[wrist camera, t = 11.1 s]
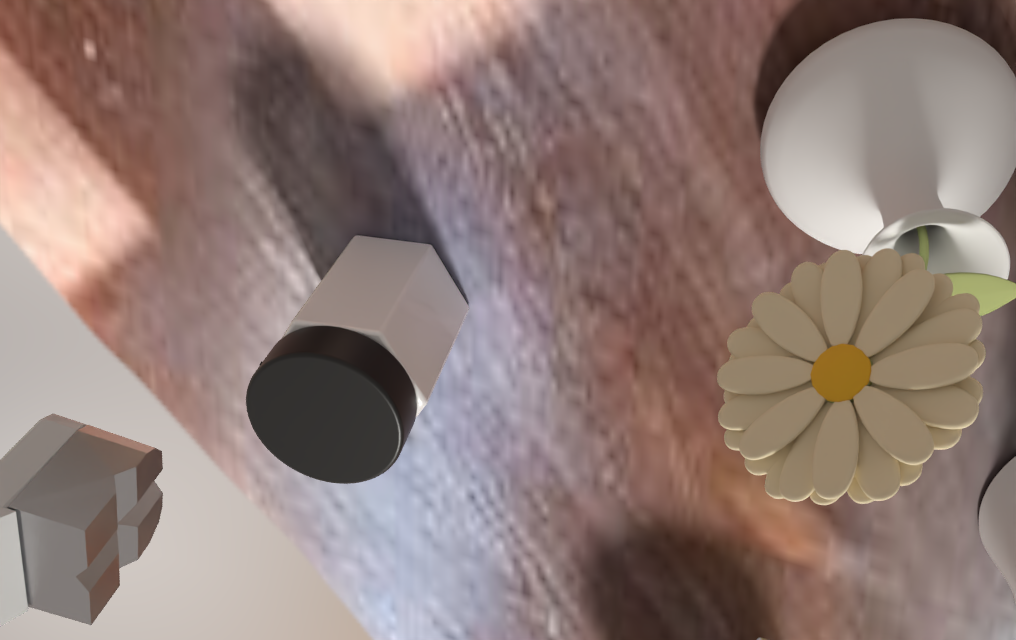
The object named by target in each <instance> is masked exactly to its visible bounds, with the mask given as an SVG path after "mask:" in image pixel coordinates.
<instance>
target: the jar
mask: <svg viewBox="0 0 1016 640" xmlns="http://www.w3.org/2000/svg"><path fill="white" fill-rule="evenodd" d="M468 311H469V306H468V304H467V302H466V301H465V299H464V298H463V296H462V294H461V293H460V291H459V289H458V288H457V286H456V284H455V283H454V281H453V279H452V278H451V276H450V274H449V273H448V271H447V269H446V268H445V266H444V264H443V263H442V261H441V259H440V258H439V256H438V255H437V253H436V251H435V250H434V248H433V246H432V245H430V244H424V243H416V242H408V241H400V240H392V239H384V238H376V237H368V236H360V235H356V236H354V237H353V238H352V240H351V241H350V242H349V244H348V245H347V246H346V248H345V249H344V250H343V252H342V253H341V255H340V256H339V257H338V259H337V260H336V261H335V263H334V264H333V266H332V267H331V268H330V270H329V271H328V272H327V274H326V275H325V277H324V278H323V279H322V281H321V282H320V283H319V285H318V286H317V287H316V289H315V290H314V292H313V293H312V294H311V296H310V297H309V298H308V300H307V301H306V303H305V304H304V305H303V307H302V308H301V309H300V311H299V312H298V314H297V315H296V316H295V318H294V319H293V320H292V322H291V324H290V325H289V327H288V329H287V330H286V332H285V334H284V336H283V337H282V339H281V340H280V341H278V343H277V344H276V345H275V346H274V347H273V349H272V350H271V351H270V353H269V354H268V355H267V357H266V358H265V360H264V361H263V362H261V363H260V366H259V368H258V369H257V371H256V372H255V373H254V375H253V376H252V378H251V380H250V383H249V386H248V389H247V395H246V406H247V412H248V416H249V419H250V422H251V425H252V427H253V429H254V431H255V433H256V434H257V436H258V437H259V439H260V440H261V442H262V443H263V444H264V445H265V447H266V448H267V449H268V450H269V451H270V452H271V453H272V454H273V455H274V456H276V457H277V458H278V459H279V460H280V461H282V462H283V463H284V464H286V465H287V466H289V467H291V468H292V469H294V470H296V471H298V472H300V473H302V474H304V475H306V476H309V477H312V478H315V479H318V480H322V481H326V482H331V483H344V484H348V483H358V482H363V481H367V480H370V479H373V478H375V477H377V476H379V475H381V474H383V473H384V472H385V471H387V470H388V469H389V468H390V467H391V466H392V465H393V464H394V463H395V461H396V460H397V458H398V457H399V455H400V453H401V451H402V448H403V446H404V444H405V442H406V440H407V437H408V435H409V433H410V431H411V429H412V426H413V424H414V422H415V418H416V417H417V416H418V414H419V413H420V412H421V411H422V409H423V408H424V407H425V405H426V404H427V402H428V400H429V398H430V396H431V393H432V391H433V389H434V387H435V385H436V382H437V380H438V378H439V376H440V373H441V371H442V369H443V367H444V365H445V362H446V360H447V358H448V356H449V353H450V351H451V349H452V347H453V345H454V342H455V340H456V338H457V336H458V333H459V331H460V329H461V327H462V324H463V322H464V320H465V318H466V316H467V313H468Z"/></svg>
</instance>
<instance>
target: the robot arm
mask: <svg viewBox="0 0 1016 640" xmlns="http://www.w3.org/2000/svg"><path fill="white" fill-rule="evenodd" d="M162 469H163V467H162V451H160V450H158V449H156V448H154V447H151V446H148V445H145V444H142V443H139V442H136V441H133V440H131V439H128V438H125V437H122V436H119V435H116V434H113V433H110V432H107V431H104V430H101V429H99V428H95V427H93V426H90V425H85V424H83V423H80V422H77V421H74V420H71V419H68V418H65V417H62V416H59V415H56V414H51V415H49V416H47V417H45V418H43V419H41V420H39V422H37V423H36V424H35V425H34V427H33V428H31V429H30V430H29V432H28V433H27V434H26V435H25V436H24V437H23V438H22V439H21V440H20V441H19V442H18V443H17V444H16V445H15V446H14V447H13V448H12V449H11V450H10V451H9V452H8V453H7V454H6V455H5V456H4V457H3V458H2V459H1V460H0V627H1V626H2V625H4V624H6V623H7V622H9V621H11V620H13V619H15V618H16V617H18V616H20V615H21V614H23V613H25V612H27V611H28V607H31V608H35V609H39V610H42V611H45V612H49V613H52V614H56V615H59V616H62V617H65V618H69V619H72V620H75V621H79V622H82V623H86V624H89V625H92V623H93V622H94V620H95V619H96V618H97V616H98V615H99V613H100V612H101V611H102V609H103V608H104V607H105V605H106V604H107V602H108V601H109V600H110V598H111V597H112V595H113V594H114V593H115V591H116V590H117V588H118V587H119V585H120V583H119V582H120V580H119V568H121V567H123V566H125V565H127V564H129V563H131V562H134V561H136V560H138V559H139V557H140V556H141V554H142V553H143V551H144V550H145V549H146V547H147V546H148V544H149V543H150V540H151V538H152V536H153V534H154V532H155V529H156V527H157V524H158V523H159V519H160V514H161V510H162V496H163V493H162V491H161V490H160V488H159V487H158V486H157V484H156V483H155V481H154V480H155V479H156V477H157V476H158V475H159V473H160V472H161V471H162ZM979 531H980V536H981V540H982V542H983V545H984V547H985V549H986V551H987V553H988V554H989V556H990V558H991V559H992V560H993V562H994V563H995V565H996V566H997V567H998V569H999V570H1000V572H1001V573H1002V575H1003V576H1004V578H1005V580H1006V581H1007V583H1008V585H1009V587H1010V588H1011V590H1012V592H1013V596H1014V601H1015V604H1016V456H1015V457H1014V458H1013V459H1012V460H1011V461H1009V462H1008V463H1007V464H1006V465H1005V466H1004V467H1003V468H1002V469H1001V471H1000V472H999V473H998V474H997V475H996V477H995V478H994V479H993V481H992V482H991V484H990V485H989V487H988V489H987V491H986V493H985V495H984V497H983V500H982V503H981V507H980V512H979ZM757 640H768V639H765V638H761V637H760V638H758V639H757Z"/></svg>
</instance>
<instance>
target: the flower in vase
mask: <svg viewBox="0 0 1016 640" xmlns="http://www.w3.org/2000/svg"><path fill="white" fill-rule="evenodd" d="M760 155H761V166H762V171H763V175H764V179H765V182H766V184H767V187H768V189H769V192H770V194H771V196H772V197H773V199H774V201H775V202H776V204H777V206H778V207H779V208H780V209H781V211H782V212H783V213H784V214H785V216H786V217H787V218H788V219H789V220H790V221H791V222H793V223H794V224H795V225H796V226H797V227H798V228H800V229H801V230H803V231H804V232H805V233H807V234H808V235H810V236H811V237H813V238H815V239H817V240H819V241H820V242H822V243H824V244H826V245H829V246H832V247H834V248H837V249H840V251H837V252H835V253H834V254H832V255H831V256H830V257H829V259H828V260H827V262H826V263H823V264H821V265H819V266H818V265H816V264H815V263H812V262H804V263H802V264H800V265H798V266H797V267H796V268H795V269H794V271H793V273H792V277H791V283H788V284H786V285H785V286H784V287H783V288H782V290H781V291H780V294H776V293H773V292H765V293H762V294H760V295H759V296H758V297H756V299H755V300H754V302H753V304H752V314H753V316H754V318H753V319H752V320H751V321H750V322H749V324H748V326H747V327H745V328H740V329H737V330H735V331H734V332H733V333H732V334H731V335H730V336H729V338H728V341H727V346H728V349H729V351H730V352H731V356H730V358H729V362H727V363H725V364H724V365H723V366H722V367H721V368H720V369H719V371H718V374H717V381H718V384H719V385H720V387H721V388H723V389H724V390H725V391H724V401H725V404H724V405H723V406H722V407H721V409H720V411H719V414H718V420H719V423H720V424H721V426H723V427H724V428H726V429H727V430H726V432H725V435H724V440H725V443H726V445H727V446H728V447H729V448H730V449H732V450H740V452H741V454H742V455H743V456H744V457H745V466H746V468H747V470H748V471H749V472H750V473H752V474H754V475H764V474H767V476H766V479H765V490H766V492H767V494H768V495H770V496H771V497H773V498H776V499H782V498H785V499H787V500H789V501H792V502H798V501H802V500H804V499H806V498H808V497H809V496H810V498H811V499H812V500H813V502H815V503H816V504H819V505H829V504H832V503H833V502H835V501H836V500H837V499H838V498H839V497H840V496H842V495H843V494H844V493H845V492H846V491H847V492H848V494H849V496H850V497H851V498H852V500H853V501H855V502H857V503H860V504H866V503H870V502H872V501H874V500H876V501H883V500H887V499H889V498H891V497H892V496H894V495H895V494H896V493H897V491H898V490H899V487H900V485H901V486H904V485H909V484H911V483H913V482H915V481H916V480H917V479H918V478H919V477H920V475H921V472H922V466H923V465H922V463H924V462H925V461H926V460H928V459H929V458H930V457H931V455H932V453H933V451H934V449H939V450H941V449H948V448H951V447H953V446H954V445H955V444H956V443H957V442H958V441H959V439H960V437H961V434H962V428H965V427H968V426H969V425H971V424H972V423H973V422H974V421H975V419H976V418H977V416H978V412H979V405H978V404H979V403H980V401H981V399H982V397H983V387H982V386H981V384H980V383H979V382H978V381H977V380H975V379H974V378H971V377H969V376H970V375H971V374H973V372H974V371H975V370H976V369H977V368H978V367H980V366H981V364H982V363H983V361H984V359H985V356H986V350H985V346H984V345H983V343H982V342H980V341H979V340H976V338H977V337H978V335H979V334H980V332H981V329H982V319H981V317H980V316H982V315H985V314H988V313H990V312H992V311H994V310H996V309H998V308H999V307H1001V306H1003V305H1005V304H1006V303H1008V302H1010V301H1011V300H1013V299H1015V298H1016V283H1014V282H1012V281H1009V280H1007V279H1008V276H1009V271H1010V255H1009V251H1008V248H1007V245H1006V243H1005V241H1004V239H1003V237H1002V236H1001V234H1000V233H999V232H998V231H997V230H996V229H995V228H994V227H993V226H992V225H991V224H990V223H988V222H987V221H986V220H984V219H982V218H980V216H981V215H982V214H984V213H985V212H986V211H987V210H988V209H989V207H990V206H991V205H992V204H993V203H994V202H995V201H996V200H997V198H998V197H999V196H1000V194H1001V193H1002V191H1003V190H1004V188H1005V187H1006V185H1007V184H1008V182H1009V180H1010V178H1011V176H1012V174H1013V172H1014V170H1015V168H1016V77H1015V75H1014V73H1013V72H1012V70H1011V69H1010V67H1009V66H1008V64H1007V63H1006V61H1005V60H1004V59H1003V58H1002V57H1001V56H1000V54H999V53H998V52H997V51H996V50H995V49H994V48H993V47H991V46H990V45H989V44H987V43H986V42H985V41H984V40H982V39H981V38H979V37H977V36H976V35H974V34H972V33H970V32H968V31H967V30H964V29H962V28H959V27H956V26H954V25H951V24H948V23H944V22H939V21H935V20H928V19H917V18H906V19H891V20H885V21H878V22H874V23H871V24H867V25H864V26H860V27H857V28H855V29H852V30H850V31H847V32H845V33H843V34H840V35H839V36H837V37H835V38H833V39H831V40H830V41H828V42H826V43H824V44H823V45H822V46H820V47H819V48H817V49H816V50H815V51H813V52H812V53H810V54H809V55H808V56H807V57H806V58H805V59H804V60H803V61H802V62H801V63H799V64H798V65H797V66H796V67H795V69H794V70H793V71H792V72H791V73H790V74H789V76H788V77H787V78H786V79H785V81H784V82H783V84H782V85H781V87H780V88H779V90H778V91H777V93H776V95H775V97H774V99H773V101H772V103H771V105H770V107H769V109H768V112H767V115H766V118H765V121H764V125H763V130H762V135H761V147H760ZM854 253H858V254H862V256H858V257H856V256H855V254H854Z"/></svg>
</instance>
